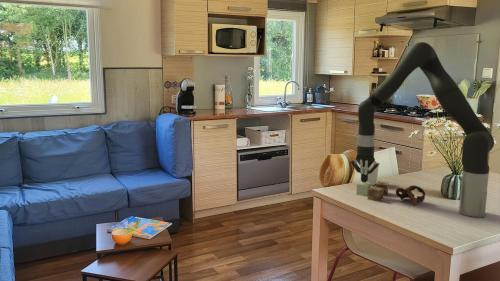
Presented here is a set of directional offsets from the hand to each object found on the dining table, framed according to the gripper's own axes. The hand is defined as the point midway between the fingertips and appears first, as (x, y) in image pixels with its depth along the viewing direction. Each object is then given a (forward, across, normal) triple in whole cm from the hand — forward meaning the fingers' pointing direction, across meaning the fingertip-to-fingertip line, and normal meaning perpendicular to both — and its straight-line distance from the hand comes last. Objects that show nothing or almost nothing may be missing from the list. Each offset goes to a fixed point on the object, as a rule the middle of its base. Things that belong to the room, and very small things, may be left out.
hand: (364, 182), depth 202 cm
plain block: (+6, 0, 0) cm, 6 cm away
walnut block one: (+6, -7, -5) cm, 10 cm away
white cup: (+6, +3, -19) cm, 20 cm away
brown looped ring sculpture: (+6, -20, +1) cm, 21 cm away
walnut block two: (+6, -7, +5) cm, 10 cm away
